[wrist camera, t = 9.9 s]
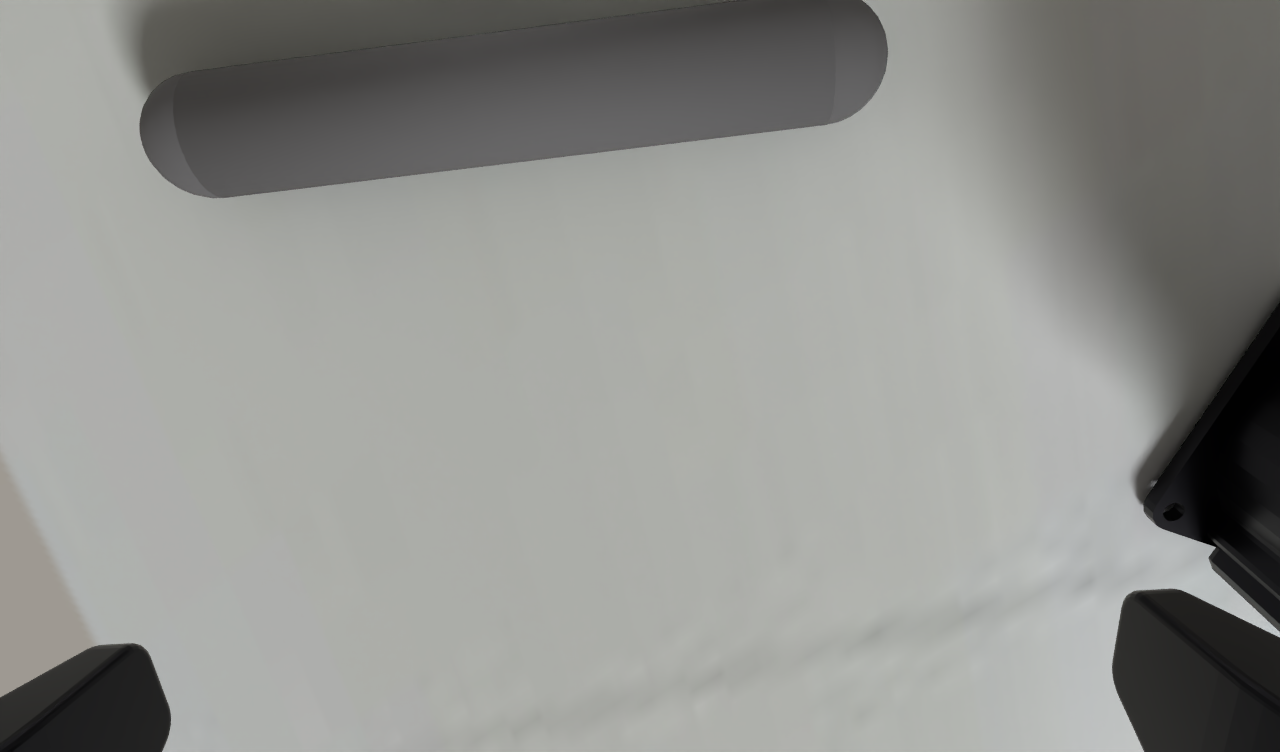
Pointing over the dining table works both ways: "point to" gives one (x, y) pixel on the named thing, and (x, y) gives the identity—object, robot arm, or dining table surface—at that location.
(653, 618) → the dining table surface
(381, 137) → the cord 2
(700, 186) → the dining table surface
